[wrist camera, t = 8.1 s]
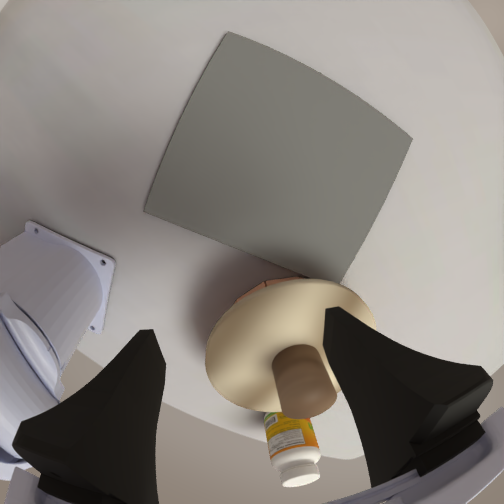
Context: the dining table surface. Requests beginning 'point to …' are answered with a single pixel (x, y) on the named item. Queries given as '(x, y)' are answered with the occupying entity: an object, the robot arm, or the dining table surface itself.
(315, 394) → the lid
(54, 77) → the dining table surface
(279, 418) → the supplement bottle
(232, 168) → the mat
